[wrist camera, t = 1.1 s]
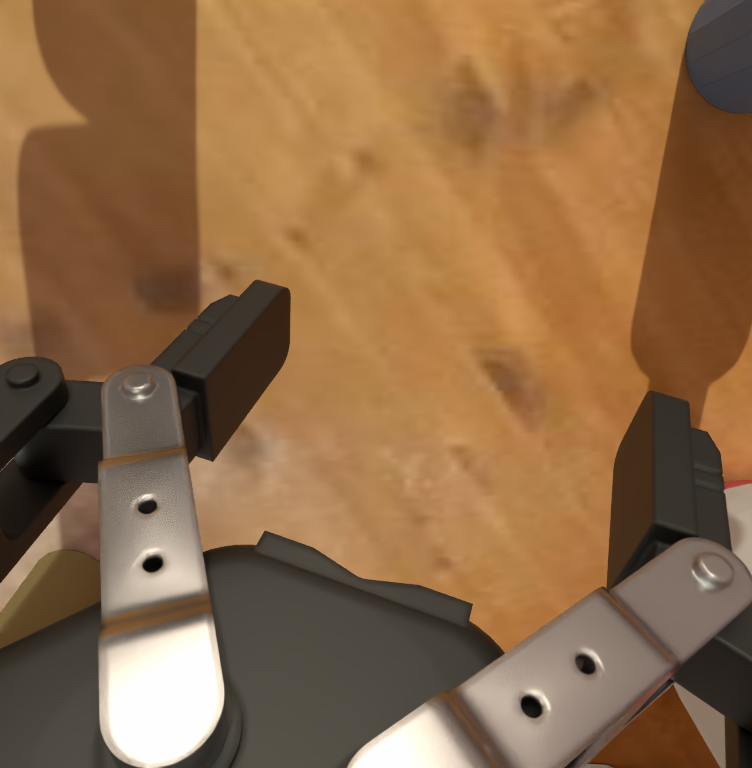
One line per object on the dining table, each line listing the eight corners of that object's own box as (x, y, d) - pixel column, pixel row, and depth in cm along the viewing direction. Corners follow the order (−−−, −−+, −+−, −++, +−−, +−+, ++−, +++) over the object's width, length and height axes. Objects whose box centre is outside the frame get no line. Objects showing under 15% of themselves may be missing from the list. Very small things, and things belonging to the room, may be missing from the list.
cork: (47, 535, 44) (-66, 638, 33) (128, 573, 44) (42, 687, 34) (18, 602, 45) (-99, 722, 35) (96, 638, 46) (5, 766, 35)
